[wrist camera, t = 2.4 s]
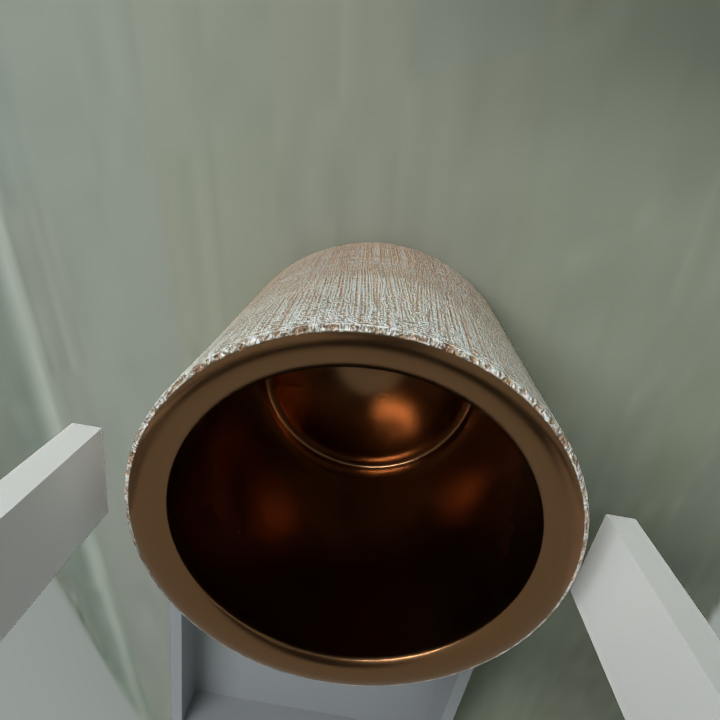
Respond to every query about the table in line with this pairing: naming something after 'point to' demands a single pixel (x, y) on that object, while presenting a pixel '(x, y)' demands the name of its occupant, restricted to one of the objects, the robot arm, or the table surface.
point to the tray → (287, 688)
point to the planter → (359, 478)
